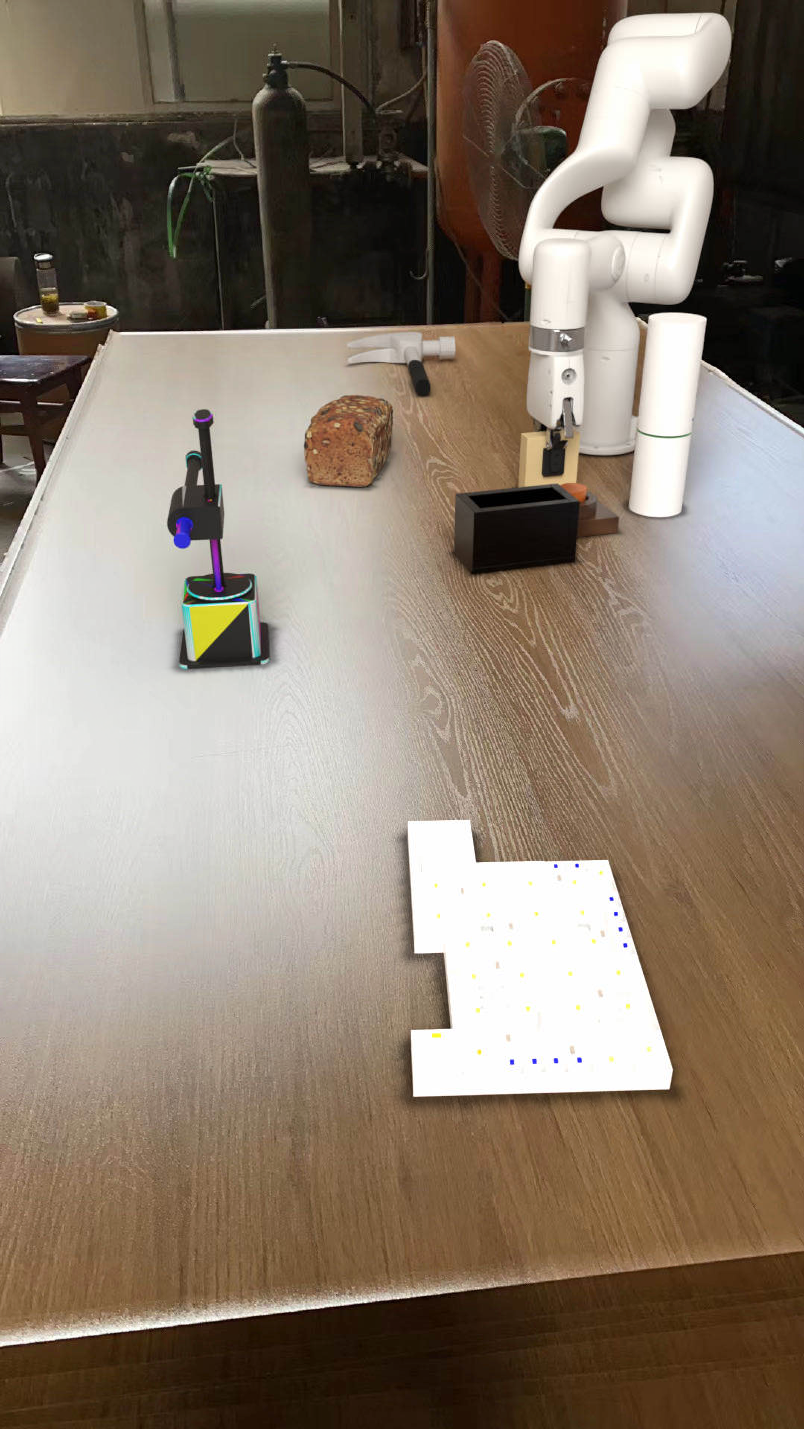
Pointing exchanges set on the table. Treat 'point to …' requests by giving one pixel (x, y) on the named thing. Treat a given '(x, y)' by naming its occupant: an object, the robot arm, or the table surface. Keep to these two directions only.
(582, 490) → the button
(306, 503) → the table surface
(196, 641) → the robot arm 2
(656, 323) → the cylindrical container
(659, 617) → the table surface
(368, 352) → the claw hammer
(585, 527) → the control block
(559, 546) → the toaster
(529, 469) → the toast
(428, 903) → the floor plan model
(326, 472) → the bread
